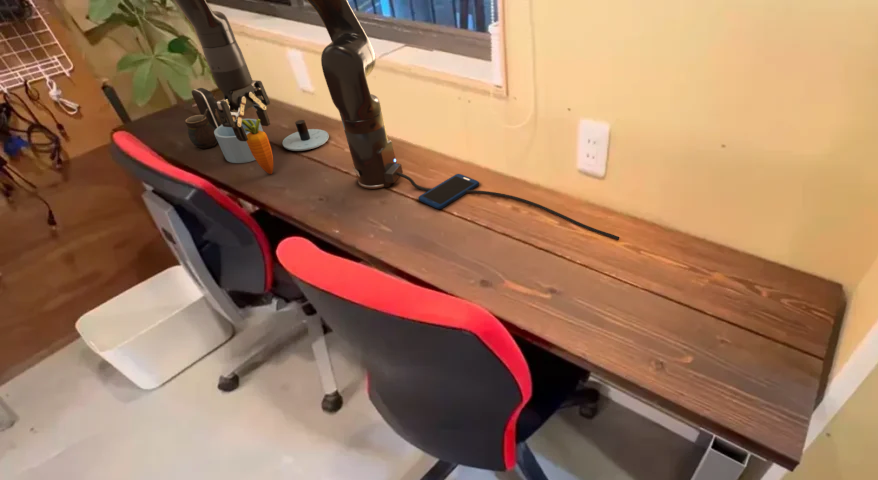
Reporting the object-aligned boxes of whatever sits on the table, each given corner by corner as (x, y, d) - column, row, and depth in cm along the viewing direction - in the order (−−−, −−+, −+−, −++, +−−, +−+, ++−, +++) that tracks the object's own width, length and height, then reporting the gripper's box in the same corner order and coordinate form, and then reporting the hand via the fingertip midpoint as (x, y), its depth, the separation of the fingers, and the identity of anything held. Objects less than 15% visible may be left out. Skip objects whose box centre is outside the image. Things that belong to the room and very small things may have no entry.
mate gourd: (191, 145, 148) (174, 111, 142) (218, 136, 152) (203, 103, 145) (198, 153, 144) (181, 119, 137) (225, 144, 147) (210, 110, 141)
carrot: (284, 169, 135) (263, 114, 125) (275, 179, 131) (253, 122, 121) (266, 169, 135) (244, 114, 125) (257, 178, 132) (233, 122, 122)
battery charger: (228, 127, 156) (212, 90, 149) (216, 132, 154) (199, 94, 147) (217, 121, 160) (201, 85, 152) (206, 126, 158) (189, 89, 150)
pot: (278, 145, 146) (269, 120, 141) (252, 165, 137) (241, 139, 132) (243, 141, 148) (233, 117, 144) (216, 161, 140) (204, 135, 135)
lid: (337, 134, 149) (332, 114, 145) (313, 154, 140) (307, 133, 136) (300, 130, 152) (293, 110, 148) (274, 150, 143) (266, 129, 139)
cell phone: (480, 184, 124) (480, 181, 124) (439, 210, 116) (438, 207, 116) (458, 175, 128) (458, 172, 127) (417, 200, 120) (416, 197, 120)
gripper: (219, 76, 109) (249, 147, 120) (261, 54, 119) (285, 121, 130) (190, 75, 111) (222, 145, 121) (234, 53, 121) (260, 119, 132)
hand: (255, 132), depth 126 cm, fingers open, 8 cm apart
